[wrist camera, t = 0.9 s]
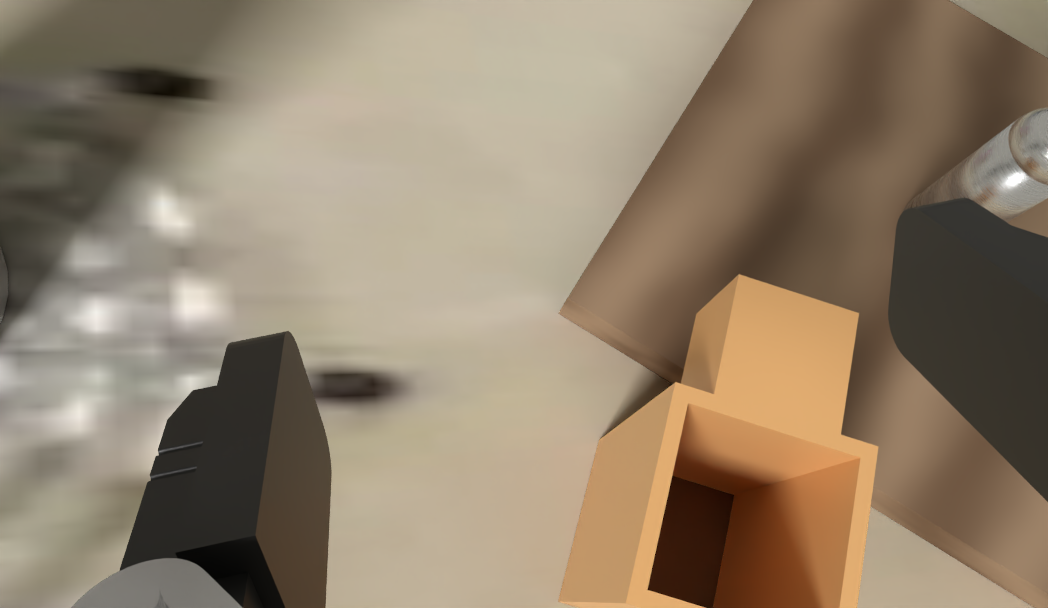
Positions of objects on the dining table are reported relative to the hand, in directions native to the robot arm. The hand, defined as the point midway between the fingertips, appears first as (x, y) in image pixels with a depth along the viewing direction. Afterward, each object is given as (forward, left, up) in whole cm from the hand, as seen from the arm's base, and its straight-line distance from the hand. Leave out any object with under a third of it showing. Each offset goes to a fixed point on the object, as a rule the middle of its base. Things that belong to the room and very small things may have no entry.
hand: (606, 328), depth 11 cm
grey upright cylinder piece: (+11, +21, -21) cm, 32 cm away
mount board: (+11, +21, -23) cm, 33 cm away
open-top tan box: (+7, +5, -23) cm, 25 cm away
